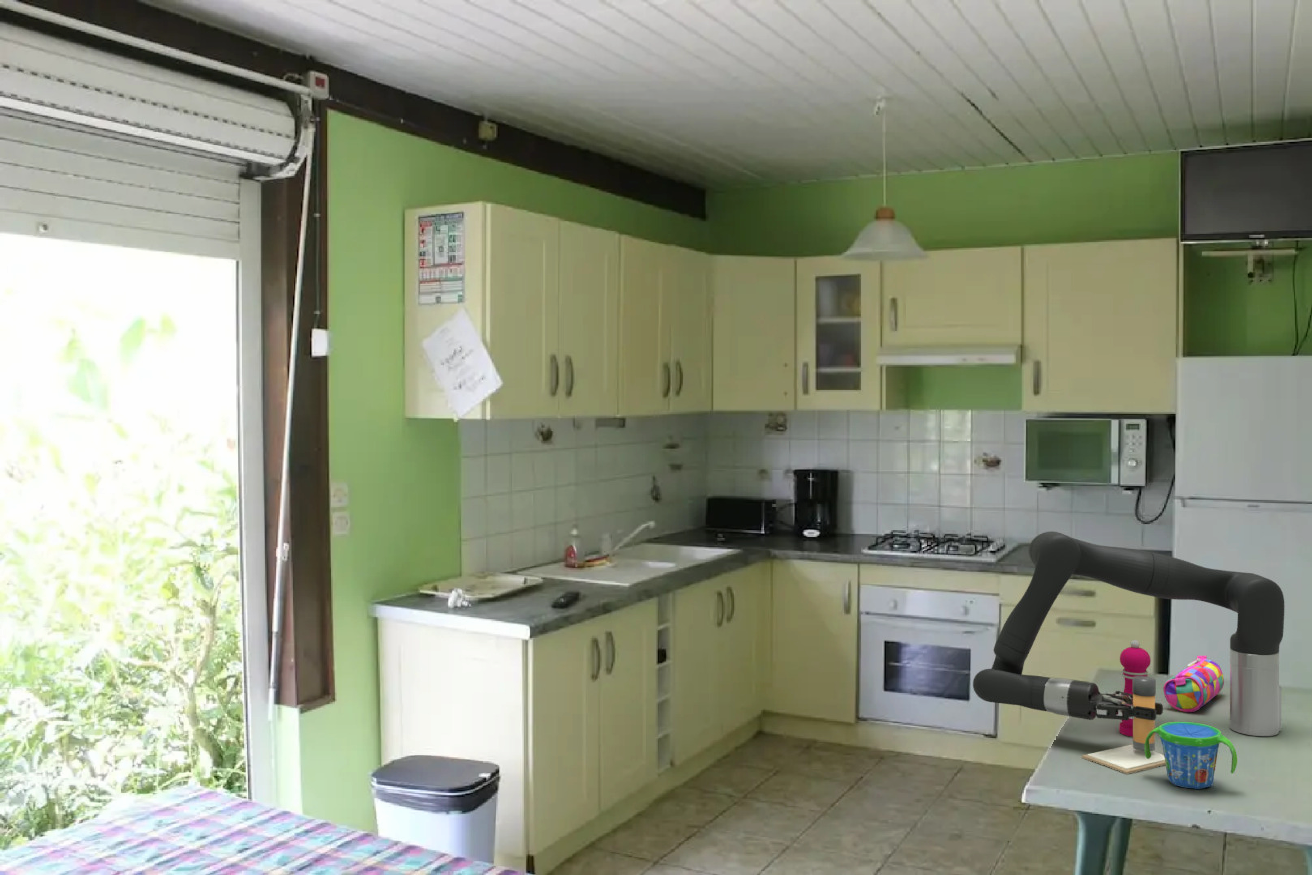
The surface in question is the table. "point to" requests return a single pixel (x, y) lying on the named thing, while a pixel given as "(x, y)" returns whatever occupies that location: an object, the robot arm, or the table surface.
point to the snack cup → (1190, 752)
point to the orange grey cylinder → (1144, 698)
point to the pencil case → (1194, 685)
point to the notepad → (1126, 759)
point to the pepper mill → (1132, 675)
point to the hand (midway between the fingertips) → (1158, 712)
